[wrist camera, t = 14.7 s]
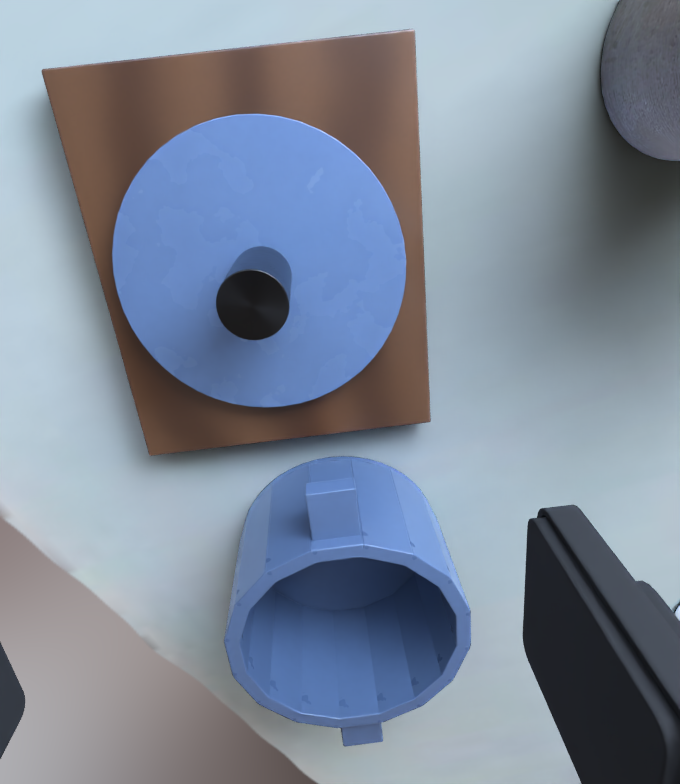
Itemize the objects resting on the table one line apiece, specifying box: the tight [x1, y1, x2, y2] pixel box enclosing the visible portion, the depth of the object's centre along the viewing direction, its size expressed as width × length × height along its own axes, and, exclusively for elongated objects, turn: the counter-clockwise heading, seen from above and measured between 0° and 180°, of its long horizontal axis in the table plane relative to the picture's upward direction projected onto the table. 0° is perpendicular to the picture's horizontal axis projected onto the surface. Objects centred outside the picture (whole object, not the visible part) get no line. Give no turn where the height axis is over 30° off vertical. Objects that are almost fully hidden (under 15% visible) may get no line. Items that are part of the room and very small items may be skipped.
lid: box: [112, 114, 406, 407], centre depth 24 cm, size 14×14×7 cm
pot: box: [224, 456, 471, 746], centre depth 33 cm, size 13×18×8 cm
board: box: [42, 29, 431, 456], centre depth 28 cm, size 16×19×2 cm
